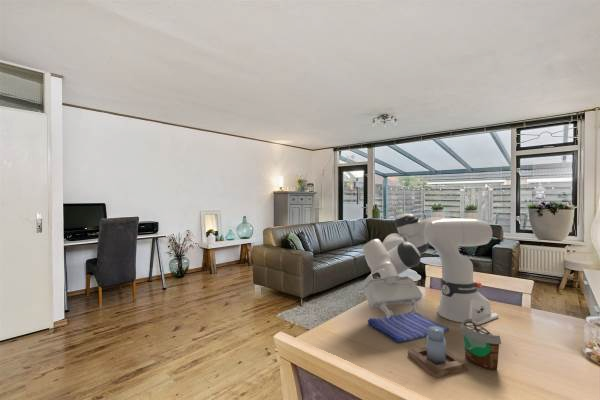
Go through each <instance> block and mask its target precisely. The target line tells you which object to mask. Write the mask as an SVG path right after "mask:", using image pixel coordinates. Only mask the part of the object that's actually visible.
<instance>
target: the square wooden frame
mask: <svg viewBox="0 0 600 400" xmlns="http://www.w3.org/2000/svg"><path fill="white" fill-rule="evenodd" d="M407 357H409V358H410V359H411V360H412V361H413V362H415V363H416V364H418V365H419V366H420V367H421V368H422V369H424V370H425V371H427V372H428V373H429V374H430V375H432V376H433V377H434V378H438V377H444V376H446V375H451V374H454V373H455V374H456V373H460V372H464V371H467V370H469V368H468V364H469V362H468V361H465V360H463V359H462V358H460V357H458V356H457V355H456V354H454V353H453V352H451V351H449V350H448V349H446V363H443V364H439V365H435V364H434V363H432V362H431V361H429V360H428V359H427V345H426V346H422V347H416V348H411V349H408V350H407Z"/></svg>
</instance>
